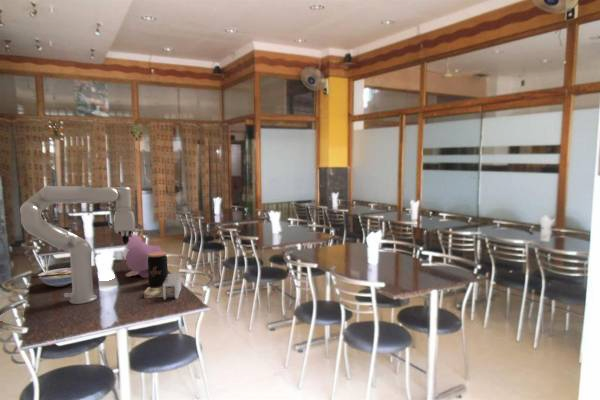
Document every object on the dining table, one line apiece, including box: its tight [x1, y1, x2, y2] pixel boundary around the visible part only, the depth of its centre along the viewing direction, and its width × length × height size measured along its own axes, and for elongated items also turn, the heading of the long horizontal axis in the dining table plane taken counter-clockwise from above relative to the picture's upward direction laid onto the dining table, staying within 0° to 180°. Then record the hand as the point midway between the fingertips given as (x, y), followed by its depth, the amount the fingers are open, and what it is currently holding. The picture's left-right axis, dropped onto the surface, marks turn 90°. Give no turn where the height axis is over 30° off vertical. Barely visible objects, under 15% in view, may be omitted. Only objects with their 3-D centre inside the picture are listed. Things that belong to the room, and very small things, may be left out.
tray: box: [143, 286, 175, 299], centre depth 225 cm, size 15×10×3 cm, turn 98°
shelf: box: [162, 272, 183, 300], centre depth 226 cm, size 7×20×8 cm, turn 10°
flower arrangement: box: [125, 233, 163, 279], centre depth 266 cm, size 35×24×28 cm
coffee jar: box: [148, 251, 169, 287], centre depth 244 cm, size 11×11×18 cm
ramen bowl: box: [31, 267, 72, 288], centre depth 245 cm, size 25×23×8 cm
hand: (125, 243), depth 228 cm, fingers closed
